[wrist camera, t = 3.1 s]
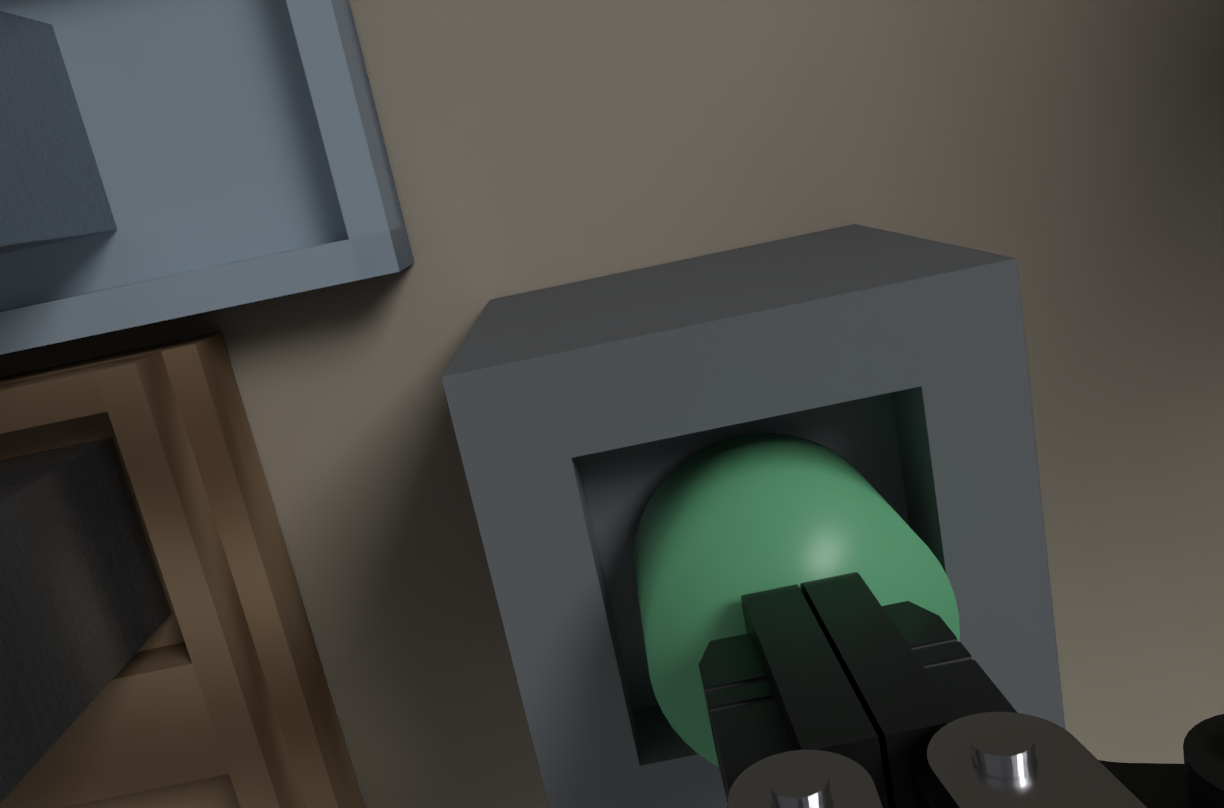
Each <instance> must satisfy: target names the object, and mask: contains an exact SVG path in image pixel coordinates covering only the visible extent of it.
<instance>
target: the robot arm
mask: <svg viewBox="0 0 1224 808" xmlns="http://www.w3.org/2000/svg"><path fill="white" fill-rule="evenodd" d="M741 602H742V609H743V615H744V620H745V625H746V631H747V634H742V635H737V636H732V637H727V638H722V639H717V640H712V641H710V642H709V644H708V646H707V648H706V650H705V652H704V654H703V656H702V658H701V661H700V663H699V669H700V674H701V679H702V684H703V689H704V694H705V699H706V704H707V709H708V714H709V719H710V724H711V729H712V734H713V739H714V744H715V749H716V754H717V759H718V764H719V769H720V774H721V778H722V782H723V786H724V791H725V795H726V799H727V803H728V807H727V808H1224V714H1222V715H1217V716H1214V717H1211V718H1209V719H1206V720H1204V721H1202V722H1200V723H1199V724H1197V725H1195V726H1194V727H1193V728H1192V729H1191V730H1190V731H1189V732H1188V734H1187V735H1186V737H1185V740H1184V744H1183V750H1184V764H1151V763H1117V762H1108V761H1100V760H1097V759H1096V758H1095V757H1094V756H1093V755H1092V754H1091V753H1090V752H1089V751H1088V750H1087V749H1086V748H1085V747H1084V746H1083V745H1082V744H1081V743H1080V742H1079V741H1078V740H1077V739H1076V738H1075V737H1074V736H1073V735H1071V734H1070V733H1069V732H1068V731H1066V730H1065V729H1064V728H1062V727H1060V726H1058V725H1057V724H1055V723H1052V722H1050V721H1048V720H1045V719H1043V718H1039V717H1036V716H1033V715H1027V714H1022V713H1017V711H1016V710H1015V709H1014V708H1013V706H1012V705H1011V704H1010V703H1009V701H1008V700H1007V699H1006V698H1005V696H1004V695H1003V694H1002V693H1001V691H1000V690H999V689H998V688H997V687H996V685H995V684H994V683H993V682H992V680H991V679H990V678H989V677H988V675H987V674H986V673H985V672H984V670H983V669H982V668H981V667H980V665H979V664H978V663H977V662H976V660H972V657H971V654H970V653H969V652H968V651H967V649H966V648H965V647H964V646H963V644H962V643H961V642H958V640H957V637H956V636H955V634H954V633H953V632H952V631H951V629H950V628H949V627H948V626H947V625H946V623H945V622H944V621H943V620H942V618H941V617H940V616H939V615H937V614H935V613H933V612H930V611H928V610H926V609H924V608H922V607H920V606H918V605H916V604H914V603H912V602H910V601H905V602H900V603H895V604H890V605H885V606H881V605H880V603H879V602H878V600H877V599H876V597H875V596H874V594H873V593H872V592H871V590H870V589H869V587H868V586H867V584H866V583H865V581H864V580H863V579H862V577H861V576H860V574H859V573H858V572H853V573H849V574H844V575H839V576H834V577H829V578H824V579H819V580H814V581H809V582H804V583H801V584H800V588H799V586H798V585H797V584H795V585H790V586H785V587H780V588H775V589H770V590H765V591H760V592H755V593H751V594H746V595H741Z"/></svg>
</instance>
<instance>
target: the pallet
mask: <svg viewBox="0 0 1224 808" xmlns="http://www.w3.org/2000/svg"><path fill="white" fill-rule="evenodd" d="M109 437H112V438H113V441H114V444H115V447H116V450H117V453H118V456H119V459H120V462H121V465H122V468H123V471H124V474H125V477H126V480H127V483H128V486H129V489H130V491H131V494H132V497H133V500H134V503H135V506H136V509H137V512H138V515H139V518H140V521H141V524H142V527H143V530H144V533H145V536H146V539H147V542H148V545H149V548H150V551H151V554H152V557H153V560H154V563H155V566H156V569H157V572H158V575H159V578H160V580H161V583H162V586H163V589H164V592H165V595H166V598H167V601H168V604H169V607H170V610H171V613H172V614H171V615H170V616H169V617H168V618H167V619H166V620H165V621H164V623H163V624H162V625H161V626H160V627H159V628H158V629H157V630H156V631H155V632H154V634H153V635H152V636H151V637H150V638H149V639H148V640H147V641H146V642H145V644H144V645H143V646H142V647H141V648H140V649H139V650H138V651H137V652H136V654H135V655H134V656H133V657H132V658H131V659H130V660H129V661H128V662H127V664H126V665H125V666H124V667H123V668H122V669H121V670H120V671H119V672H118V674H117V675H116V676H115V677H114V678H113V679H112V680H111V681H110V682H109V683H108V685H107V686H106V687H105V688H104V689H103V690H102V691H101V692H100V693H99V695H98V696H97V697H96V698H95V699H94V700H93V701H92V702H91V703H90V705H89V706H88V707H87V708H86V709H85V710H84V711H83V712H82V713H81V715H80V716H79V717H78V718H77V719H76V720H75V721H74V722H73V723H72V725H71V726H70V727H69V728H68V729H67V730H66V731H65V732H64V733H63V734H62V736H61V737H60V738H59V739H58V740H57V741H56V742H55V743H54V744H53V746H52V747H51V748H50V749H49V750H48V751H47V752H46V753H45V754H44V756H43V757H42V758H41V759H40V760H39V761H38V762H37V763H36V764H35V766H34V767H33V768H32V769H31V770H30V771H29V772H28V773H27V774H26V776H25V777H24V778H23V779H22V780H21V781H20V782H19V783H18V784H17V786H16V787H15V788H14V789H13V790H12V791H11V792H10V793H9V794H8V795H7V797H6V798H5V799H4V800H3V801H2V802H1V803H0V808H365V807H364V804H363V801H362V797H361V794H360V791H359V787H358V784H357V781H356V777H355V774H354V771H353V767H352V764H351V761H350V757H349V754H348V751H347V747H346V744H345V741H344V738H343V734H342V731H341V728H340V724H339V721H338V718H337V714H336V711H335V708H334V704H333V701H332V698H331V694H330V691H329V688H328V684H327V681H326V678H325V675H324V671H323V668H322V665H321V661H320V658H319V655H318V651H317V648H316V645H315V641H314V638H313V635H312V631H311V628H310V625H309V621H308V618H307V615H306V611H305V608H304V605H303V602H302V598H301V595H300V592H299V588H298V585H297V582H296V578H295V575H294V572H293V568H292V565H291V562H290V558H289V555H288V552H287V548H286V545H285V542H284V538H283V535H282V532H281V529H280V525H279V522H278V519H277V515H276V512H275V509H274V505H273V502H272V499H271V495H270V492H269V489H268V485H267V482H266V479H265V475H264V472H263V469H262V466H261V462H260V459H259V456H258V452H257V449H256V446H255V442H254V439H253V436H252V432H251V429H250V426H249V422H248V419H247V416H246V412H245V409H244V406H243V402H242V399H241V396H240V393H239V389H238V386H237V383H236V379H235V376H234V373H233V369H232V366H231V363H230V359H229V356H228V353H227V349H226V346H225V343H224V339H223V336H222V333H221V332H218V333H213V334H209V335H204V336H199V337H194V338H189V339H185V340H180V341H175V342H170V343H165V344H160V345H156V346H151V347H146V348H141V349H136V350H132V351H127V352H122V353H117V354H112V355H107V356H103V357H98V358H93V359H88V360H83V361H79V362H74V363H69V364H64V365H59V366H55V367H50V368H45V369H40V370H35V371H30V372H26V373H21V374H16V375H11V376H6V377H2V378H0V460H3V459H7V458H12V457H17V456H22V455H27V454H32V453H36V452H41V451H46V450H51V449H56V448H61V447H66V446H70V445H75V444H80V443H85V442H90V441H95V440H99V439H104V438H109Z"/></svg>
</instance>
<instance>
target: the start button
mask: <svg viewBox="0 0 1224 808" xmlns="http://www.w3.org/2000/svg"><path fill="white" fill-rule="evenodd" d="M634 570H635V578H636V585H637V592H638V599H639V606H640V613H641V620H642V627H643V634H644V641H645V647H646V654H647V661H648V668H649V675H650V680H651V684H652V687H653V690H654V694H655V697H656V699H657V701H658V703H659V705H660V708H661V710H662V712H663V714H664V715H665V717H666V718H667V720H668V722H669V723H670V725H671V726H672V728H673V729H674V730H675V731H676V732H677V734H678V735H679V736H680V737H681V738H682V739H683V741H684V742H685V743H686V744H688V745H689V746H690V747H691V748H692V749H693V750H694V751H695V752H697V753H698V754H699V755H700V756H702V757H703V758H705V759H706V760H708V761H709V762H711V763H712V764H714V765H716V766H718V767H719V764H718V759H717V754H716V749H715V744H714V739H713V734H712V729H711V724H710V719H709V714H708V709H707V704H706V699H705V694H704V689H703V684H702V679H701V674H700V669H699V663H700V661H701V658H702V656H703V654H704V652H705V650H706V648H707V646H708V644H709V642H710V641H712V640H717V639H722V638H727V637H732V636H737V635H742V634H747V631H746V625H745V620H744V615H743V609H742V602H741V595H746V594H751V593H755V592H760V591H765V590H770V589H775V588H780V587H785V586H790V585H795V584H797V585H798V586H799V588H800V584H801V583H804V582H809V581H814V580H819V579H824V578H829V577H834V576H839V575H844V574H849V573H853V572H858V573H859V574H860V576H861V577H862V579H863V580H864V581H865V583H866V584H867V586H868V587H869V589H870V590H871V592H872V593H873V594H874V596H875V597H876V599H877V600H878V602H879V603H880V605H881V606H885V605H890V604H895V603H900V602H905V601H910V602H912V603H914V604H916V605H918V606H920V607H922V608H924V609H926V610H928V611H930V612H933V613H935V614H937V615H939V616H940V617H941V618H942V620H943V621H944V622H945V623H946V625H947V626H948V627H949V628H950V629H951V631H952V632H953V633H954V634H955V636H956V637H957V640H958V642H959V640H960V625H959V613H958V608H957V603H956V598H955V595H954V592H953V590H952V587H951V584H950V581H949V579H948V577H947V575H946V573H945V571H944V570H943V568H942V566H941V564H940V562H939V561H938V560H937V558H936V557H935V556H934V554H933V553H932V551H931V550H930V549H929V547H928V546H927V545H926V544H925V543H924V542H923V541H922V540H921V539H920V538H919V537H918V535H917V534H916V533H915V532H914V531H913V530H912V529H911V528H910V527H909V526H908V525H907V524H906V522H905V521H904V520H903V519H902V518H901V517H900V516H899V515H898V514H897V513H896V512H895V510H894V509H893V508H892V507H891V506H890V505H889V504H888V503H887V502H886V501H885V500H884V499H883V497H882V496H881V495H880V494H879V493H878V492H877V491H876V490H875V489H874V488H873V487H872V485H871V484H870V483H869V482H868V481H867V480H866V479H865V478H864V477H863V476H862V475H861V474H860V473H859V472H858V471H857V470H856V469H855V468H854V467H853V466H852V465H851V464H850V463H849V462H848V461H847V460H845V459H844V458H843V457H841V456H840V455H839V454H837V453H836V452H834V451H832V450H830V449H829V448H827V447H825V446H823V445H821V444H819V443H816V442H814V441H811V440H808V439H805V438H801V437H797V436H793V435H787V434H779V433H755V434H748V435H740V436H736V437H733V438H729V439H725V440H722V441H720V442H717V443H715V444H712V445H710V446H708V447H706V448H704V449H702V450H700V451H699V452H697V453H695V454H693V455H692V456H690V457H689V458H688V459H686V460H685V461H684V462H682V463H681V464H680V465H678V466H677V467H676V468H675V469H674V470H673V471H672V472H671V473H670V474H669V475H668V476H667V477H666V478H665V479H664V480H663V482H662V483H661V484H660V485H659V487H658V488H657V489H656V491H655V492H654V494H653V495H652V497H651V499H650V500H649V502H648V504H647V506H646V508H645V510H644V513H643V515H642V517H641V520H640V523H639V527H638V530H637V534H636V539H635V547H634Z"/></svg>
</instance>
